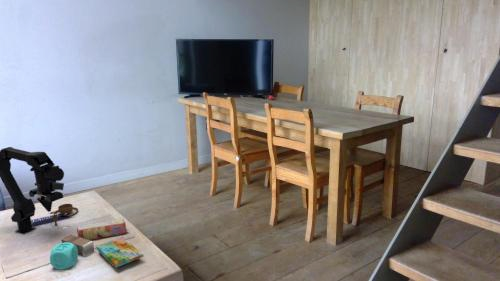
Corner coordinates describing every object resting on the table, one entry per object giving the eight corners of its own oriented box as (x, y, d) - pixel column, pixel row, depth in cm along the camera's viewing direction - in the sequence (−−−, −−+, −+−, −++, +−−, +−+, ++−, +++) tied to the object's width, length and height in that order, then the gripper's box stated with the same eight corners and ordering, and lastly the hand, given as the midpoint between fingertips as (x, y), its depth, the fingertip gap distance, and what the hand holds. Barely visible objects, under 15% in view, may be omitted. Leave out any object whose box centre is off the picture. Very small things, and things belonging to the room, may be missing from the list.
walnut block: (61, 239, 173) (83, 246, 167) (70, 234, 177) (93, 241, 171) (62, 249, 174) (84, 257, 168) (72, 244, 178) (94, 251, 172)
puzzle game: (122, 235, 177) (143, 252, 163) (123, 244, 178) (143, 262, 164) (96, 244, 170) (115, 262, 155) (97, 254, 171) (116, 273, 156)
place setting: (87, 212, 213) (86, 202, 212) (56, 228, 196) (55, 217, 194) (63, 207, 220) (62, 198, 219) (31, 222, 202) (30, 212, 201)
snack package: (125, 229, 193) (124, 216, 192) (126, 235, 187) (125, 221, 186) (78, 237, 185) (76, 224, 184) (78, 244, 179) (76, 230, 178)
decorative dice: (79, 259, 167) (76, 241, 165) (71, 269, 159) (68, 251, 157) (59, 259, 166) (57, 242, 164) (51, 270, 159) (48, 252, 157)
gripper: (70, 176, 183) (76, 208, 186) (48, 172, 193) (54, 202, 196) (47, 184, 174) (54, 217, 177) (25, 179, 184) (32, 210, 187)
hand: (49, 211), depth 185 cm, fingers closed
